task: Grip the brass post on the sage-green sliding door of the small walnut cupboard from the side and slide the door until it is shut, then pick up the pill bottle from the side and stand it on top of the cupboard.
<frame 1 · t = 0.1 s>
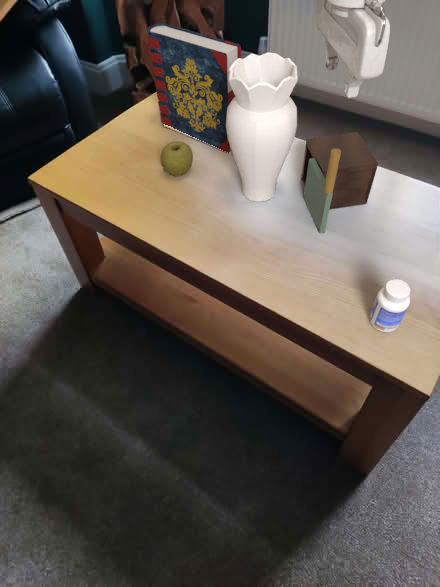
hand: (340, 81, 72), 31 cm above the table, tool pointing down, fingers open, 8 cm apart
book: (198, 134, 119), on the table
vase: (258, 191, 103), on the table
cupboard door: (319, 178, 89), point 10 cm above the table, slide at 7.0 cm
pill bottle: (383, 321, 79), on the table
apple: (178, 172, 109), on the table
cupboard: (332, 191, 102), on the table
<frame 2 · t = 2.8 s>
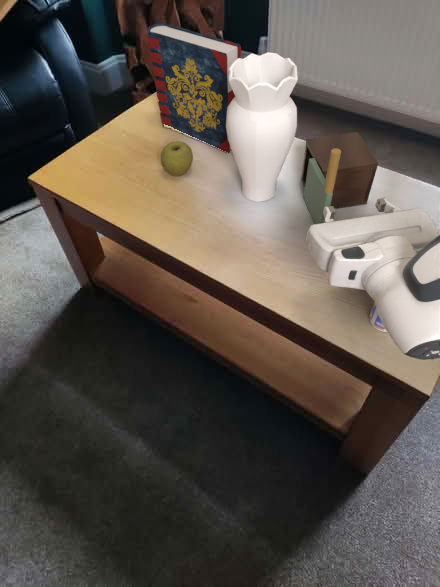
hand: (353, 205, 74), 17 cm above the table, tool horizontal, fingers open, 8 cm apart
nothing on the table moved.
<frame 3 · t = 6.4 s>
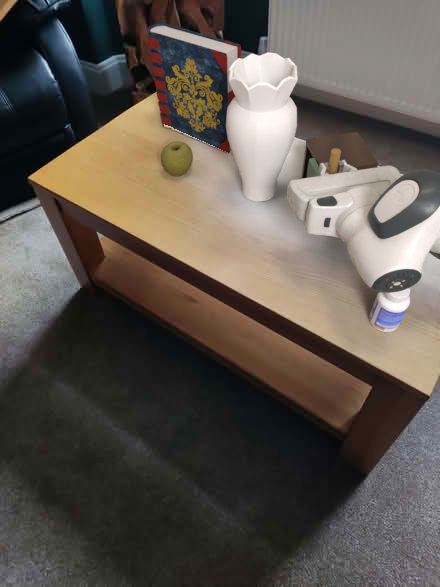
hand: (331, 164, 82), 16 cm above the table, tool horizontal, fingers closed on cupboard door, 2 cm apart
cupboard door: (319, 178, 89), point 10 cm above the table, slide at 7.0 cm, touching gripper
everything else where it was.
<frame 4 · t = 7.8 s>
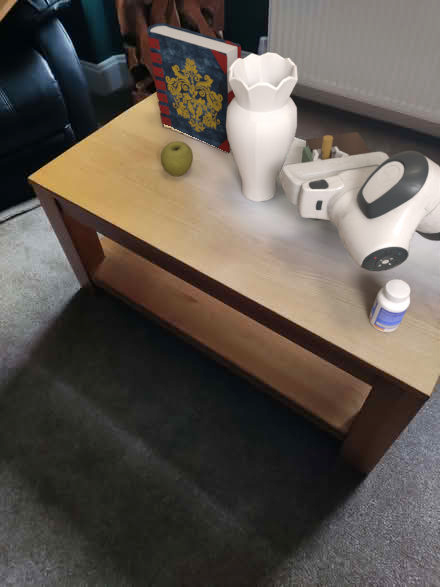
hand: (323, 151, 84), 16 cm above the table, tool horizontal, fingers closed on cupboard door, 2 cm apart
cupboard door: (313, 166, 92), point 10 cm above the table, slide at 2.6 cm, touching gripper
everything else where it was.
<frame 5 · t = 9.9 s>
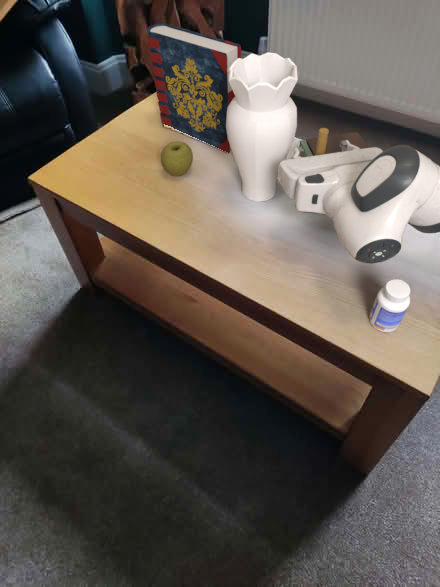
hand: (320, 146, 86), 16 cm above the table, tool horizontal, fingers open, 8 cm apart
cupboard door: (309, 159, 93), point 10 cm above the table, slide at 0.1 cm
everything else where it was.
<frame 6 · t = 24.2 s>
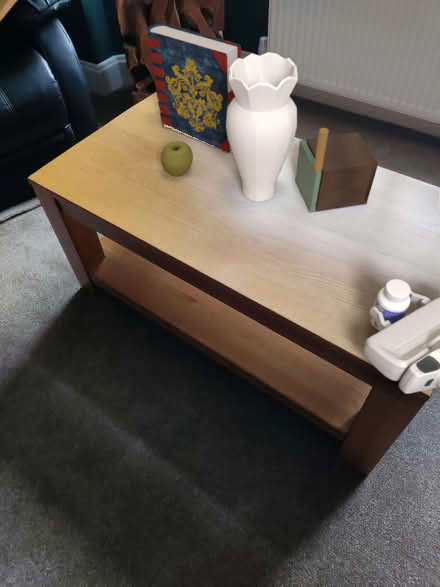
hand: (388, 299, 75), 6 cm above the table, tool horizontal, fingers closed on pill bottle, 5 cm apart
pill bottle: (383, 321, 79), on the table, touching gripper
everything else where it was.
when the fingers open (16 cm above the table, at t = 37.2 s): pill bottle stays where it is, resting on cupboard.
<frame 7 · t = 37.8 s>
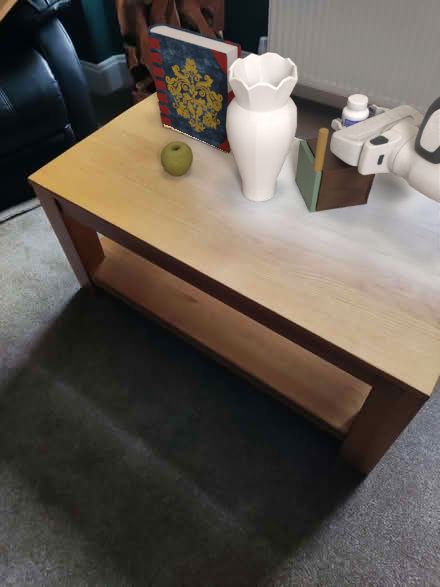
hand: (352, 115, 91), 17 cm above the table, tool horizontal, fingers open, 8 cm apart
pill bottle: (349, 142, 95), point 11 cm above the table, touching cupboard
everything else where it was.
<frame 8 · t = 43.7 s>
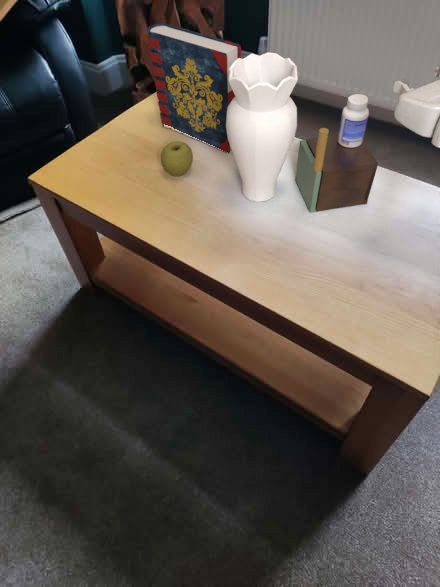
hand: (417, 76, 73), 30 cm above the table, tool horizontal, fingers open, 8 cm apart
nothing on the table moved.
at the end: cupboard door slide at 0.1 cm; pill bottle inside the target area on the cupboard (4.2 cm from its centre), point 10.8 cm above the cupboard's base; pill bottle tilted 0° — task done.
